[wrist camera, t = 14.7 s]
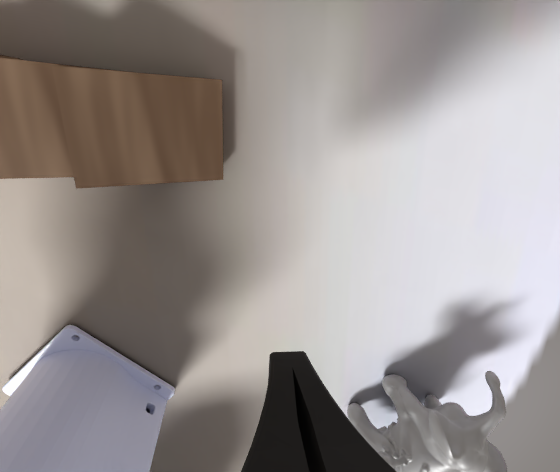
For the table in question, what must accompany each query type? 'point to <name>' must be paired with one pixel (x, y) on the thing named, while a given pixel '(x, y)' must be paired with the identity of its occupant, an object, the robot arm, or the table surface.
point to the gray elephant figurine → (434, 432)
